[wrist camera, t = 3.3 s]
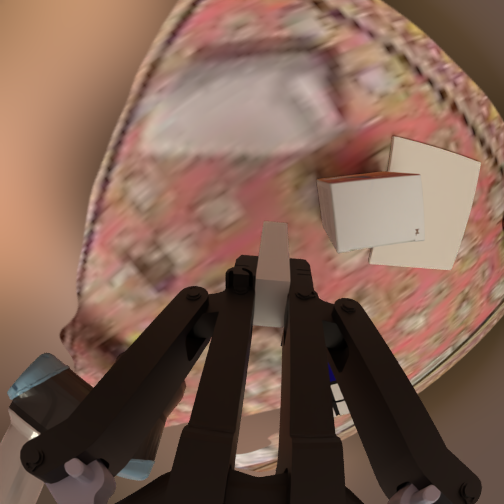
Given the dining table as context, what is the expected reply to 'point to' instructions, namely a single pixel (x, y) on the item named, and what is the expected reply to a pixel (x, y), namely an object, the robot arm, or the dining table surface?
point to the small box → (372, 209)
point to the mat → (432, 204)
